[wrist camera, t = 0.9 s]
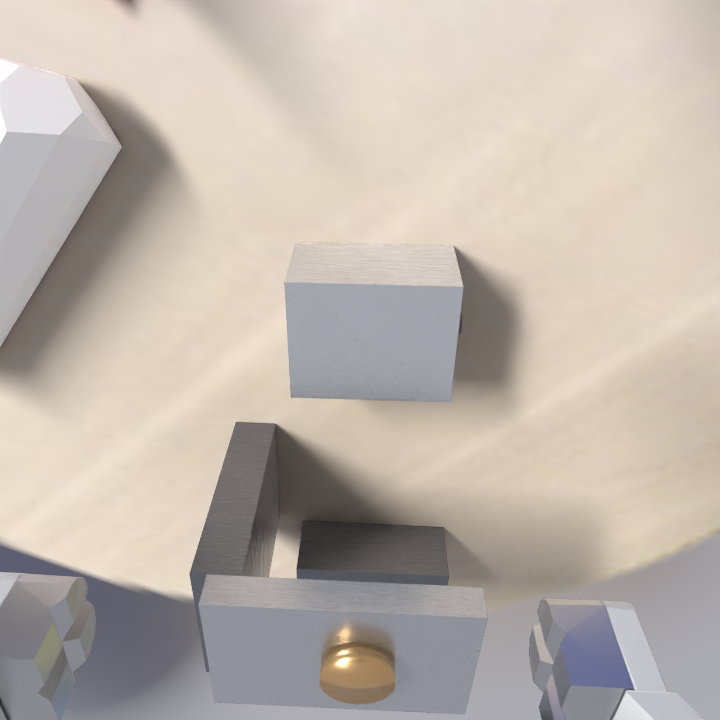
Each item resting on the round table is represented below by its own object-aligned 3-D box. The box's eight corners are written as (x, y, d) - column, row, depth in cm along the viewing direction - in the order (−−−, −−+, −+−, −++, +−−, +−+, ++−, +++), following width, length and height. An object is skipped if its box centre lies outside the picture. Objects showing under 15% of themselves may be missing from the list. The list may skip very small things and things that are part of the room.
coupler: (236, 422, 48) (174, 623, 34) (458, 432, 48) (490, 638, 34) (245, 530, 55) (197, 737, 41) (441, 539, 55) (463, 750, 40)
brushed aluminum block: (296, 240, 40) (284, 282, 35) (461, 244, 40) (472, 286, 35) (301, 347, 45) (291, 397, 40) (449, 350, 45) (458, 402, 40)
